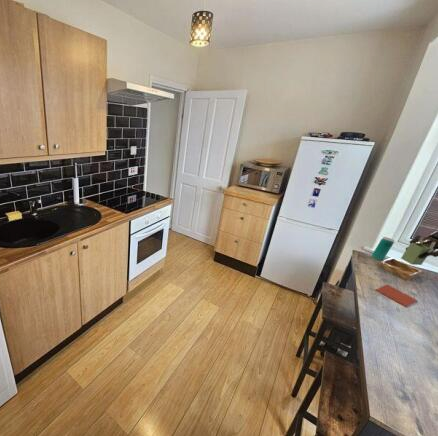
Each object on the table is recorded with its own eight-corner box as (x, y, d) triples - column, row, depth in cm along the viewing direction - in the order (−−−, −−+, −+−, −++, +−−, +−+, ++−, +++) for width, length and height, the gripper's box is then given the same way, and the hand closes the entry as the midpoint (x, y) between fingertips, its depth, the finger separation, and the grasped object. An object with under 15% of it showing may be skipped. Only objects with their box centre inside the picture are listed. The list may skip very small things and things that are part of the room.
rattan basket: (418, 275, 136) (422, 271, 134) (407, 280, 130) (411, 275, 129) (389, 262, 147) (392, 257, 146) (377, 266, 142) (380, 261, 140)
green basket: (409, 258, 127) (420, 243, 123) (421, 264, 122) (432, 248, 117) (400, 258, 126) (410, 242, 122) (411, 264, 121) (422, 248, 117)
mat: (416, 300, 115) (417, 300, 115) (405, 306, 110) (406, 306, 110) (387, 285, 125) (387, 284, 125) (375, 290, 120) (375, 289, 120)
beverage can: (384, 262, 146) (397, 242, 140) (373, 260, 148) (385, 240, 142) (379, 257, 151) (391, 238, 145) (369, 255, 153) (380, 236, 146)
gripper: (429, 224, 123) (396, 242, 127) (463, 237, 110) (426, 257, 114) (432, 233, 126) (400, 251, 130) (466, 247, 113) (430, 266, 117)
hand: (412, 254), depth 122 cm, fingers closed on green basket, 5 cm apart
